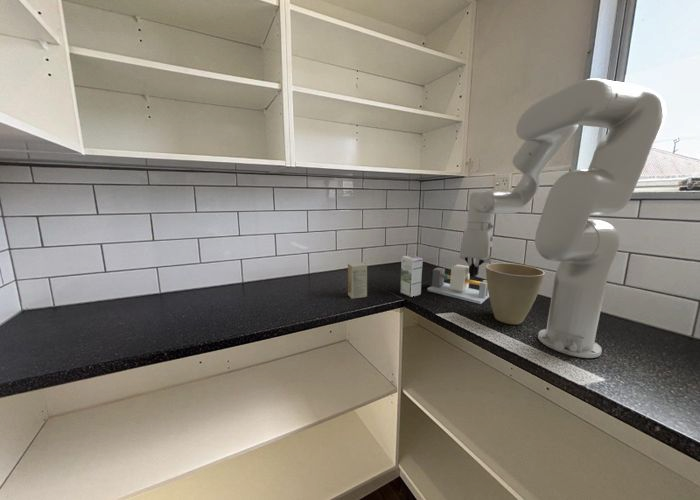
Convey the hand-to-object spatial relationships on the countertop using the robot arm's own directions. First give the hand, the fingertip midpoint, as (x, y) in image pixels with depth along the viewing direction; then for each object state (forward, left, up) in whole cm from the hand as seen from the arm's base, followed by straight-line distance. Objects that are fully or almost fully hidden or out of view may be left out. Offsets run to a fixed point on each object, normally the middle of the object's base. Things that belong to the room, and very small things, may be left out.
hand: (473, 275), depth 102 cm
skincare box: (-30, +31, -8) cm, 44 cm away
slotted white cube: (0, +5, -6) cm, 7 cm away
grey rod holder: (0, +5, -8) cm, 9 cm away
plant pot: (-13, -15, -8) cm, 22 cm away
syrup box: (-14, +18, -8) cm, 24 cm away
